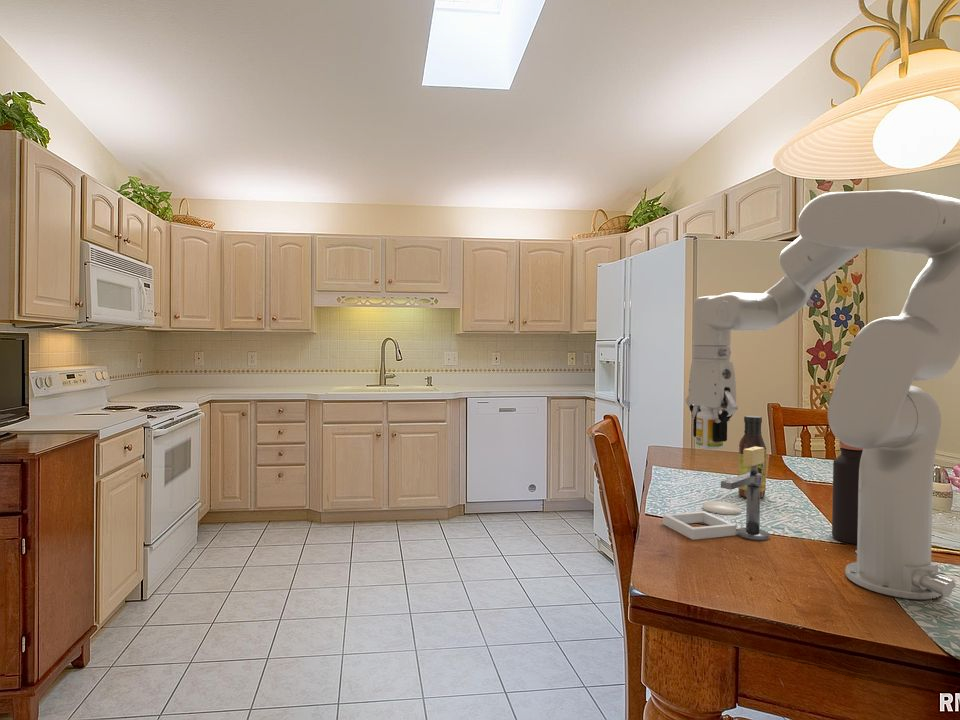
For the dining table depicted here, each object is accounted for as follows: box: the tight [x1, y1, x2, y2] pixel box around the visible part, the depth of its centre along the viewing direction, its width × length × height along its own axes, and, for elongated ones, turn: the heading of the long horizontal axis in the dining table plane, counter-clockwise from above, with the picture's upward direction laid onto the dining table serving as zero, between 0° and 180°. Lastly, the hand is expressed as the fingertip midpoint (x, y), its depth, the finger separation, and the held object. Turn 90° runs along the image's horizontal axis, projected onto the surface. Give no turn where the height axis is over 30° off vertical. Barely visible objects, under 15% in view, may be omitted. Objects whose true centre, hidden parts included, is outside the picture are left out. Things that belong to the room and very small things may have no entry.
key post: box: [735, 484, 771, 542], centre depth 115 cm, size 6×6×10 cm
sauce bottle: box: [737, 415, 767, 499], centre depth 144 cm, size 7×6×20 cm
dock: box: [662, 510, 737, 541], centre depth 118 cm, size 10×10×2 cm
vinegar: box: [831, 440, 863, 546], centre depth 112 cm, size 7×7×20 cm
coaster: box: [702, 500, 742, 515], centre depth 133 cm, size 8×8×1 cm
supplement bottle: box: [695, 404, 724, 450], centre depth 124 cm, size 5×5×10 cm
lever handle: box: [720, 446, 764, 491], centre depth 112 cm, size 3×14×7 cm, turn 130°
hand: (709, 438), depth 124 cm, fingers closed on supplement bottle, 5 cm apart
